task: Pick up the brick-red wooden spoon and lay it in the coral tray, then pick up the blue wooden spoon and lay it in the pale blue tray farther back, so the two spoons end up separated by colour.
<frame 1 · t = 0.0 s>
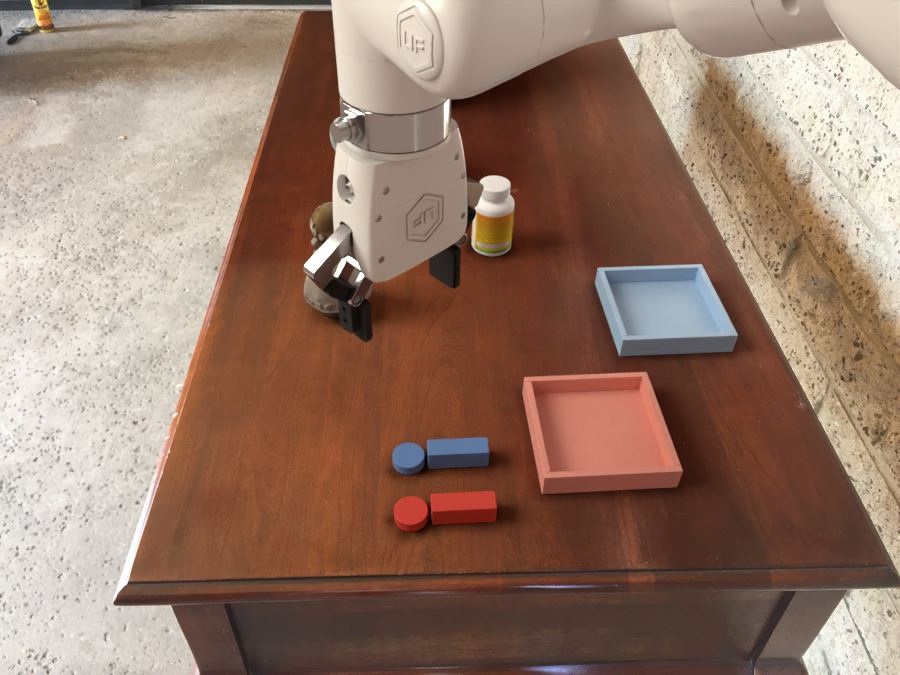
hand: (402, 305, 65), 20 cm above the table, tool pointing down, fingers open, 9 cm apart
red spoon: (447, 515, 73), on the table
mug: (372, 179, 117), on the table
figurine: (339, 310, 95), on the table
red tray: (595, 437, 80), on the table
supplement bottle: (491, 247, 105), on the table
blue tray: (660, 316, 95), on the table
planter: (410, 85, 141), on the table
blue spoon: (442, 460, 78), on the table
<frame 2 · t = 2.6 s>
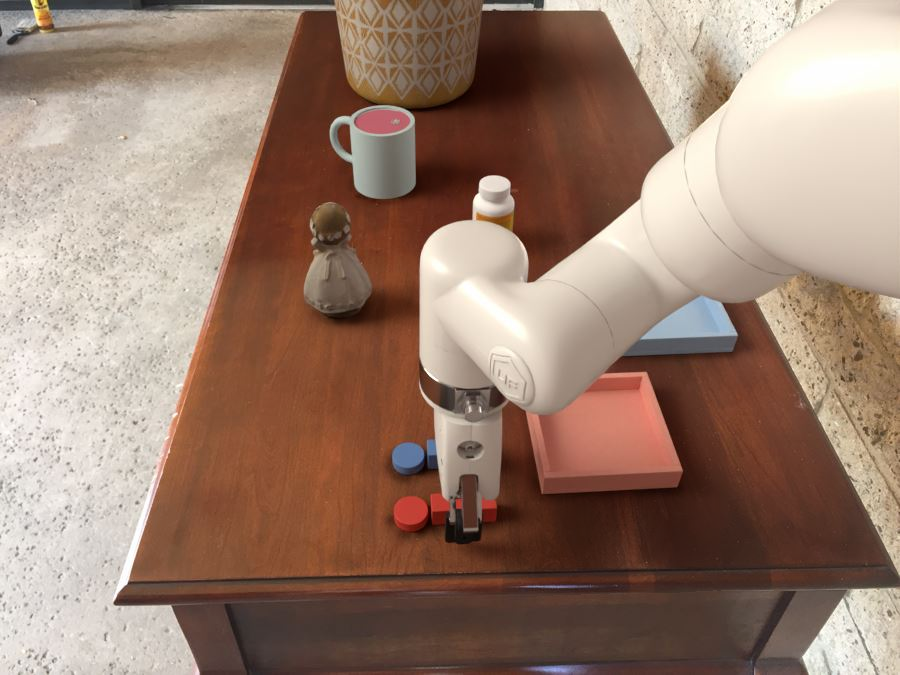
hand: (459, 501, 73), 1 cm above the table, tool pointing down, fingers open, 7 cm apart
nothing on the table moved.
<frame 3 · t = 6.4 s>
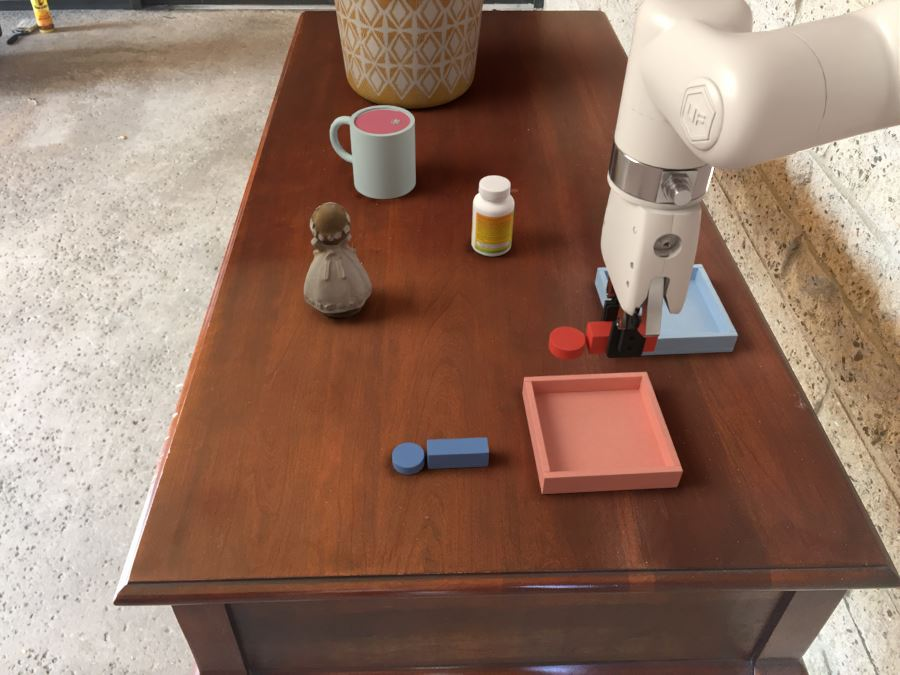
hand: (619, 343, 71), 14 cm above the table, tool pointing down, fingers closed on red spoon
red spoon: (603, 346, 71), point 14 cm above the table, touching gripper
everything else where it was.
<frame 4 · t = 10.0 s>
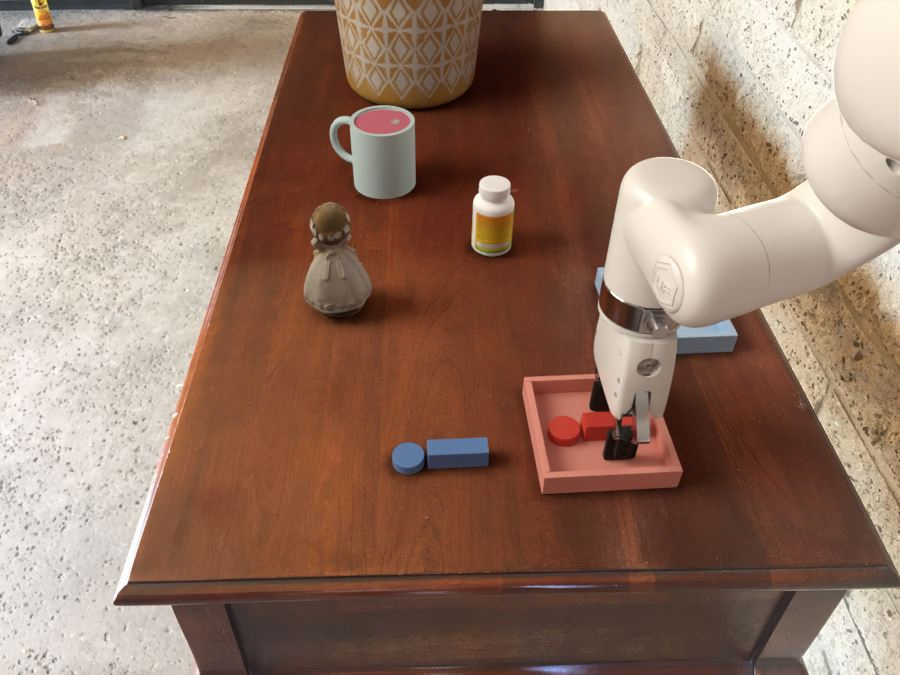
hand: (611, 431, 80), 1 cm above the table, tool pointing down, fingers open, 5 cm apart
red spoon: (595, 433, 80), point 1 cm above the table, touching red tray
everything else where it was.
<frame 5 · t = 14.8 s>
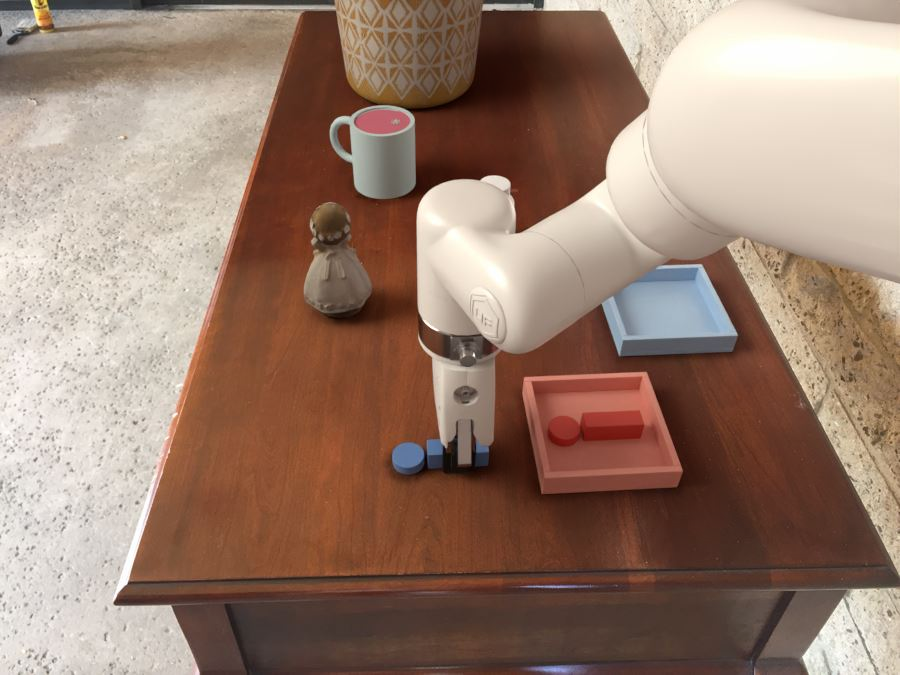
hand: (457, 458, 78), 0 cm above the table, tool pointing down, fingers closed on blue spoon, 2 cm apart
blue spoon: (442, 460, 78), on the table, touching gripper
everything else where it was.
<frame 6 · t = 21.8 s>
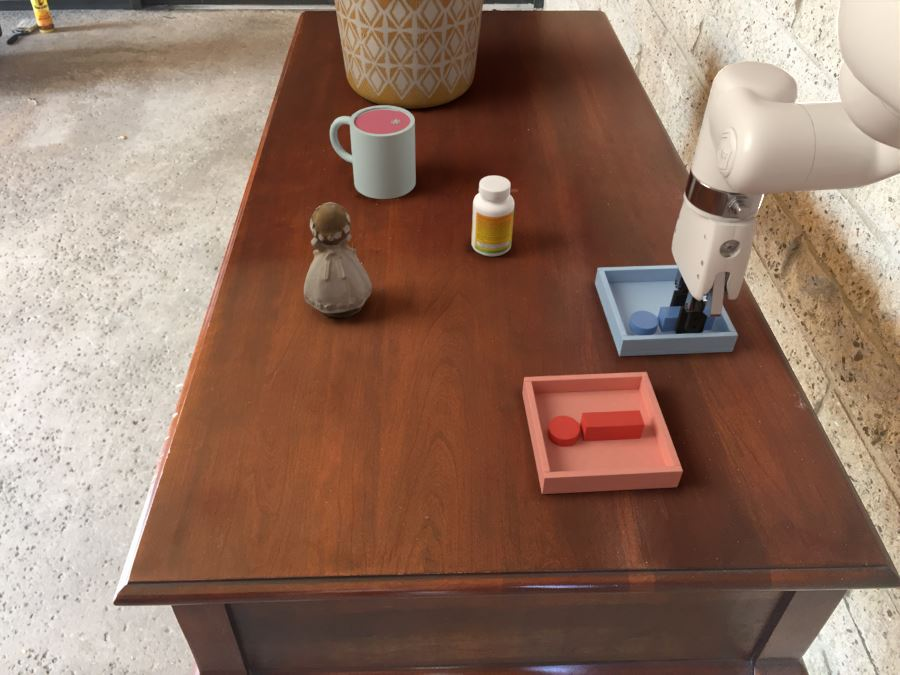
hand: (684, 324, 91), 2 cm above the table, tool pointing down, fingers closed on blue spoon, 2 cm apart
blue spoon: (671, 325, 91), point 2 cm above the table, touching gripper
everything else where it was.
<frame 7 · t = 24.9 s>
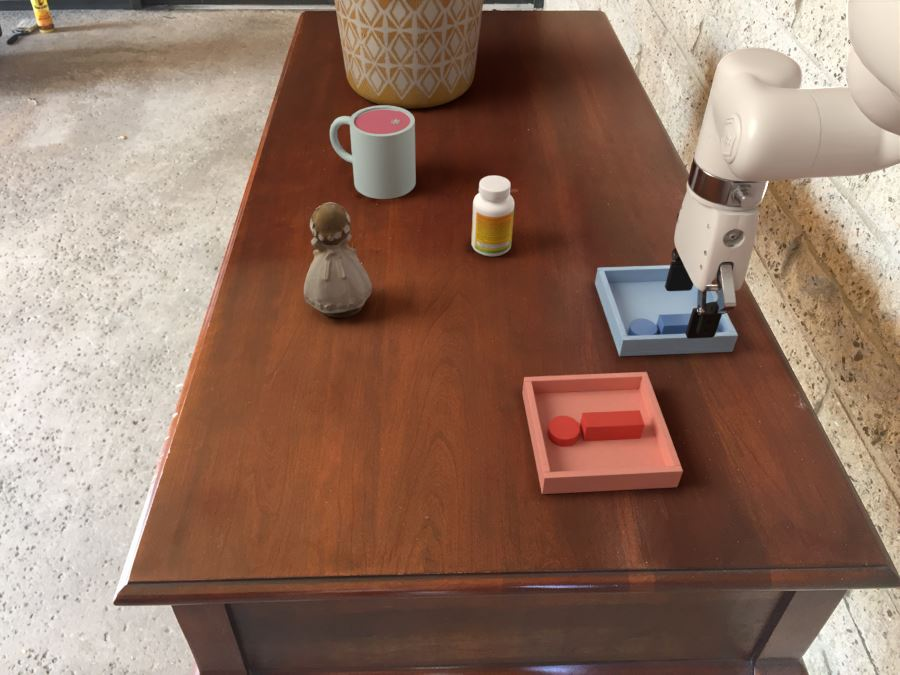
hand: (688, 311, 90), 4 cm above the table, tool pointing down, fingers open, 7 cm apart
blue spoon: (670, 333, 92), point 1 cm above the table, touching blue tray
everything else where it was.
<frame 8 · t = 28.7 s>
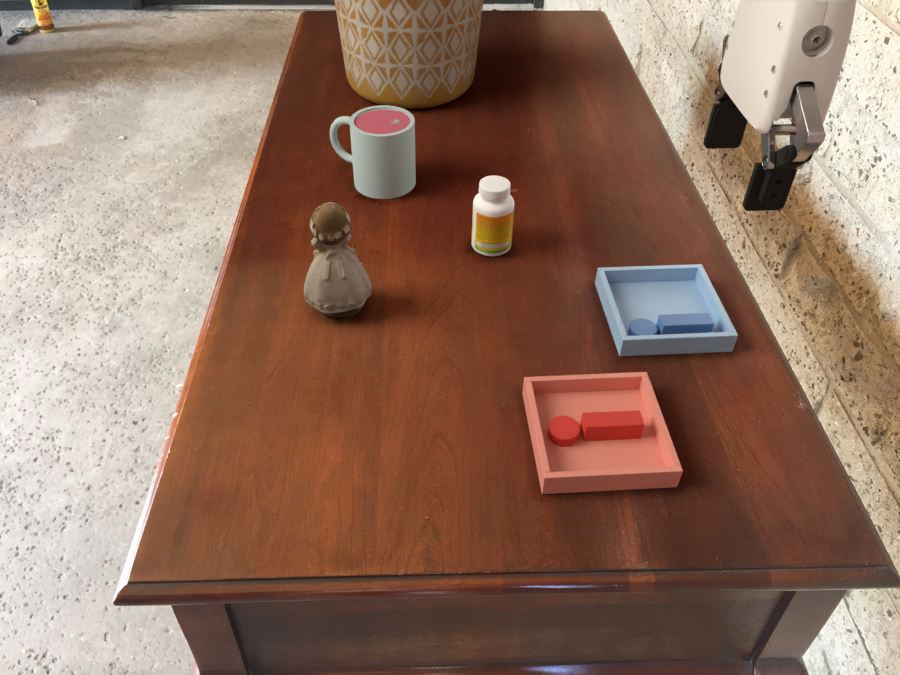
hand: (740, 176, 65), 28 cm above the table, tool pointing down, fingers open, 9 cm apart
nothing on the table moved.
at the end: red spoon inside the target area in the red tray (0.1 cm from its centre), point 0.6 cm above the red tray's base; blue spoon inside the target area in the blue tray (3.8 cm from its centre), point 0.6 cm above the blue tray's base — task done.
